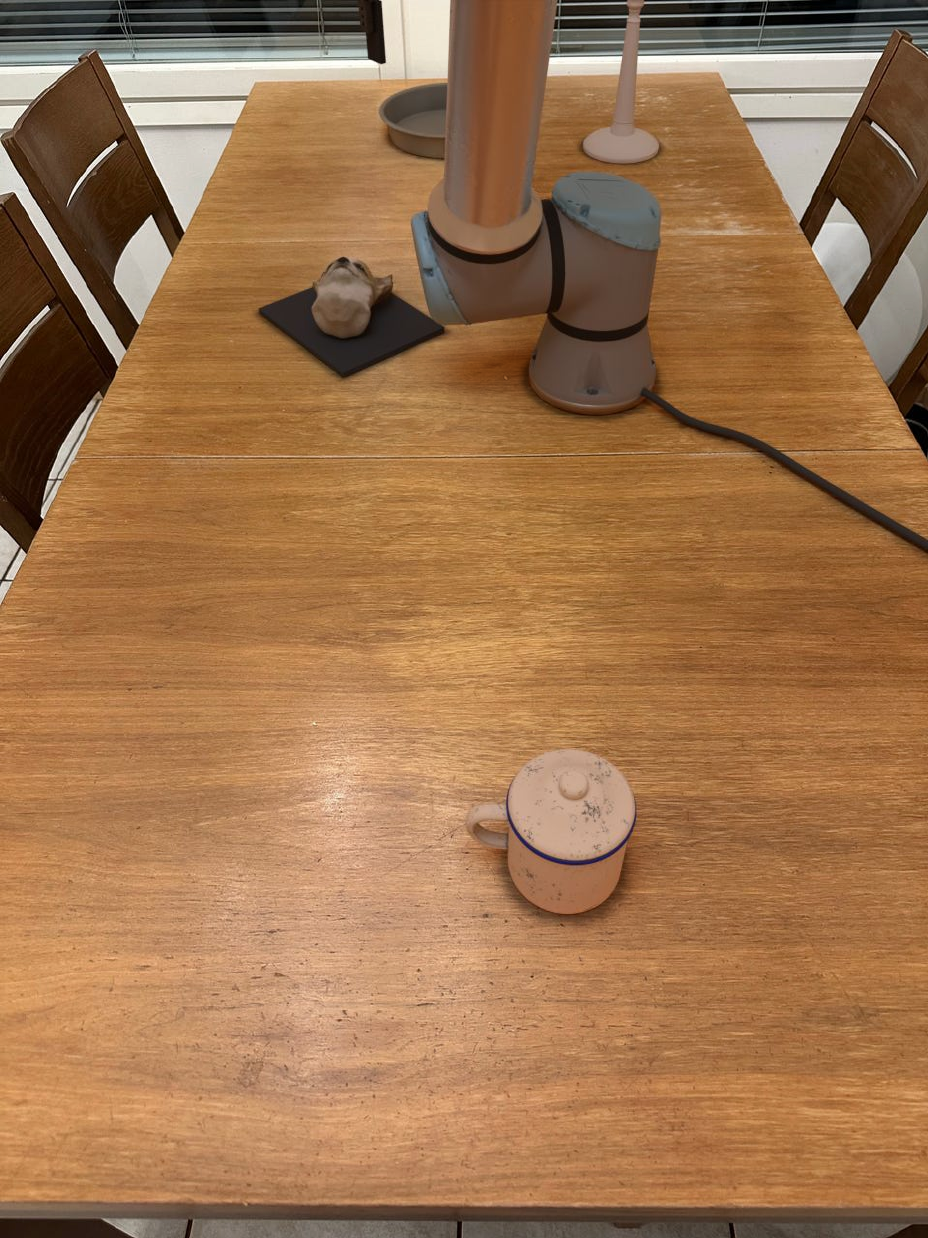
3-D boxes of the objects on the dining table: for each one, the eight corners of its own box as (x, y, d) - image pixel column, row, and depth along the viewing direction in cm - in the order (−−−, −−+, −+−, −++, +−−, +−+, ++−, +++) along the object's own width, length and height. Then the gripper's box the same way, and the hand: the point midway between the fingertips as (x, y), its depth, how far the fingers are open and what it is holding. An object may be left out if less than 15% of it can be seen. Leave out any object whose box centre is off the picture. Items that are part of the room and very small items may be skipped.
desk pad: (444, 332, 123) (444, 326, 123) (343, 378, 117) (342, 372, 116) (357, 274, 134) (356, 269, 133) (259, 313, 127) (258, 308, 127)
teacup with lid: (621, 814, 75) (639, 729, 67) (625, 923, 69) (645, 845, 60) (471, 805, 76) (469, 719, 67) (462, 912, 70) (458, 833, 61)
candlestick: (571, 138, 164) (585, -71, 142) (639, 128, 167) (663, -79, 144) (600, 167, 156) (619, -50, 134) (671, 156, 158) (701, -59, 136)
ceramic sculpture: (288, 280, 113) (314, 229, 124) (297, 346, 120) (321, 292, 130) (376, 284, 113) (394, 232, 123) (381, 350, 119) (397, 295, 129)
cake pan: (545, 123, 169) (546, 96, 165) (473, 174, 155) (472, 146, 152) (430, 98, 178) (429, 71, 174) (352, 144, 164) (349, 116, 161)
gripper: (477, -192, 109) (478, 18, 125) (294, -162, 98) (320, 63, 114) (520, -184, 105) (516, 32, 121) (335, -152, 95) (356, 80, 110)
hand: (421, 47), depth 118 cm, fingers open, 13 cm apart
